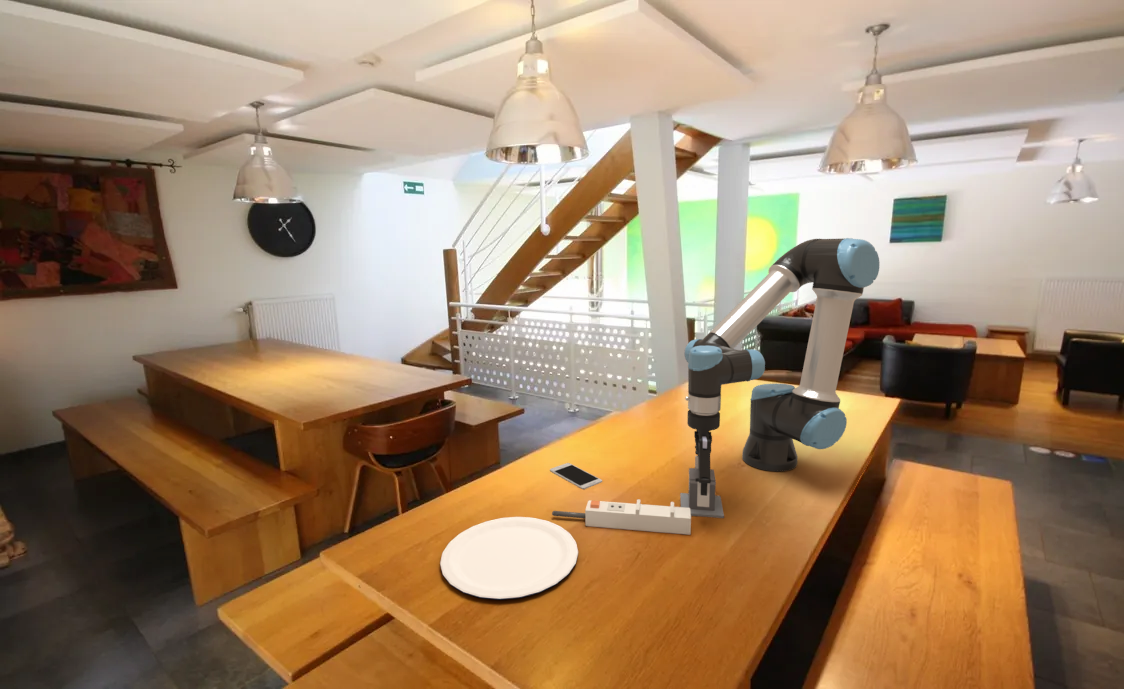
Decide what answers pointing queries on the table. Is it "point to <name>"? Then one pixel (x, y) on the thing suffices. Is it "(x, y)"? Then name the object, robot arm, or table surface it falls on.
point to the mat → (704, 513)
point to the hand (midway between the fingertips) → (701, 492)
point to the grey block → (694, 486)
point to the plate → (509, 558)
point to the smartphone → (576, 475)
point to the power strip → (634, 516)
